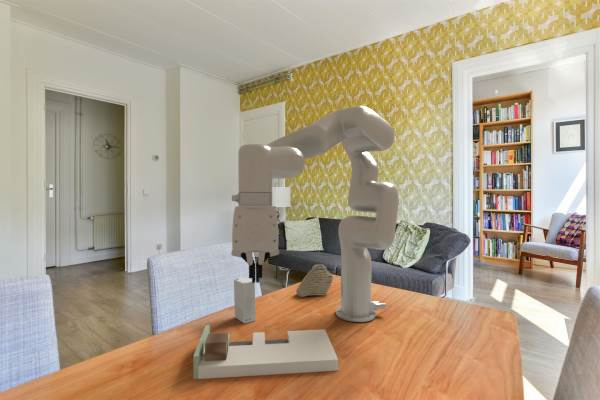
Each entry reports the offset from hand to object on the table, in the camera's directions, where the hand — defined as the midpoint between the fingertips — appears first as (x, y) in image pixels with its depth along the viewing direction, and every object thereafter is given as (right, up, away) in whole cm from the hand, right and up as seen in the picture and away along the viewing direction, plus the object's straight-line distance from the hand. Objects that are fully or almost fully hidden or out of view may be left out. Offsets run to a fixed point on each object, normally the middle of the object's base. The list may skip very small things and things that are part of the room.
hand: (255, 280), depth 72 cm
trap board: (+3, -19, +4) cm, 20 cm away
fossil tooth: (+16, -18, +49) cm, 55 cm away
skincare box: (-7, -18, +25) cm, 32 cm away
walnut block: (-9, -17, -1) cm, 19 cm away
